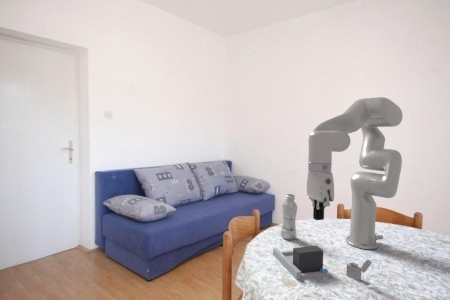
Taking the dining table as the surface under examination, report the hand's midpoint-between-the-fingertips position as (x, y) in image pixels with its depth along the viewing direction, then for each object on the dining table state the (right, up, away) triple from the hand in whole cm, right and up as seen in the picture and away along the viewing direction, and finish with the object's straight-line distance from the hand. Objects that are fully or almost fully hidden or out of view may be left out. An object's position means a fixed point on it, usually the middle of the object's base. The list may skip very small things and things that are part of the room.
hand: (318, 219), depth 93 cm
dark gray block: (-5, -17, -2) cm, 17 cm away
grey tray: (-7, -17, +1) cm, 18 cm away
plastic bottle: (-4, -16, +26) cm, 31 cm away
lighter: (+10, -18, -8) cm, 22 cm away
